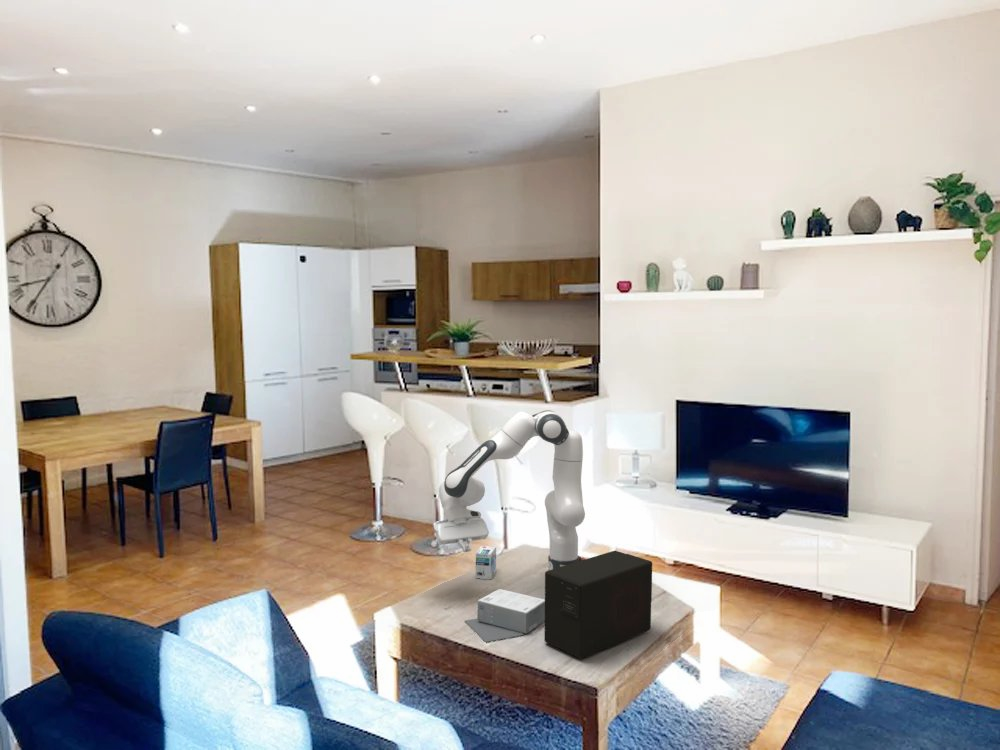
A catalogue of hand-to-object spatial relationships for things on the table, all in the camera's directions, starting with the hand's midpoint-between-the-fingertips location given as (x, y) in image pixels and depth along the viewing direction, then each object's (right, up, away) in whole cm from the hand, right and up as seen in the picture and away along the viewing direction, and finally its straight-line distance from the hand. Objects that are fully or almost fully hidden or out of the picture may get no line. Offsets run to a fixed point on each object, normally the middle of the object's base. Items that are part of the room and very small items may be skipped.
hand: (467, 551), depth 287 cm
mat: (+10, -22, -20) cm, 31 cm away
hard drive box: (+8, -17, -9) cm, 21 cm away
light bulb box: (+6, -18, +34) cm, 39 cm away
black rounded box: (+45, -23, -26) cm, 57 cm away
